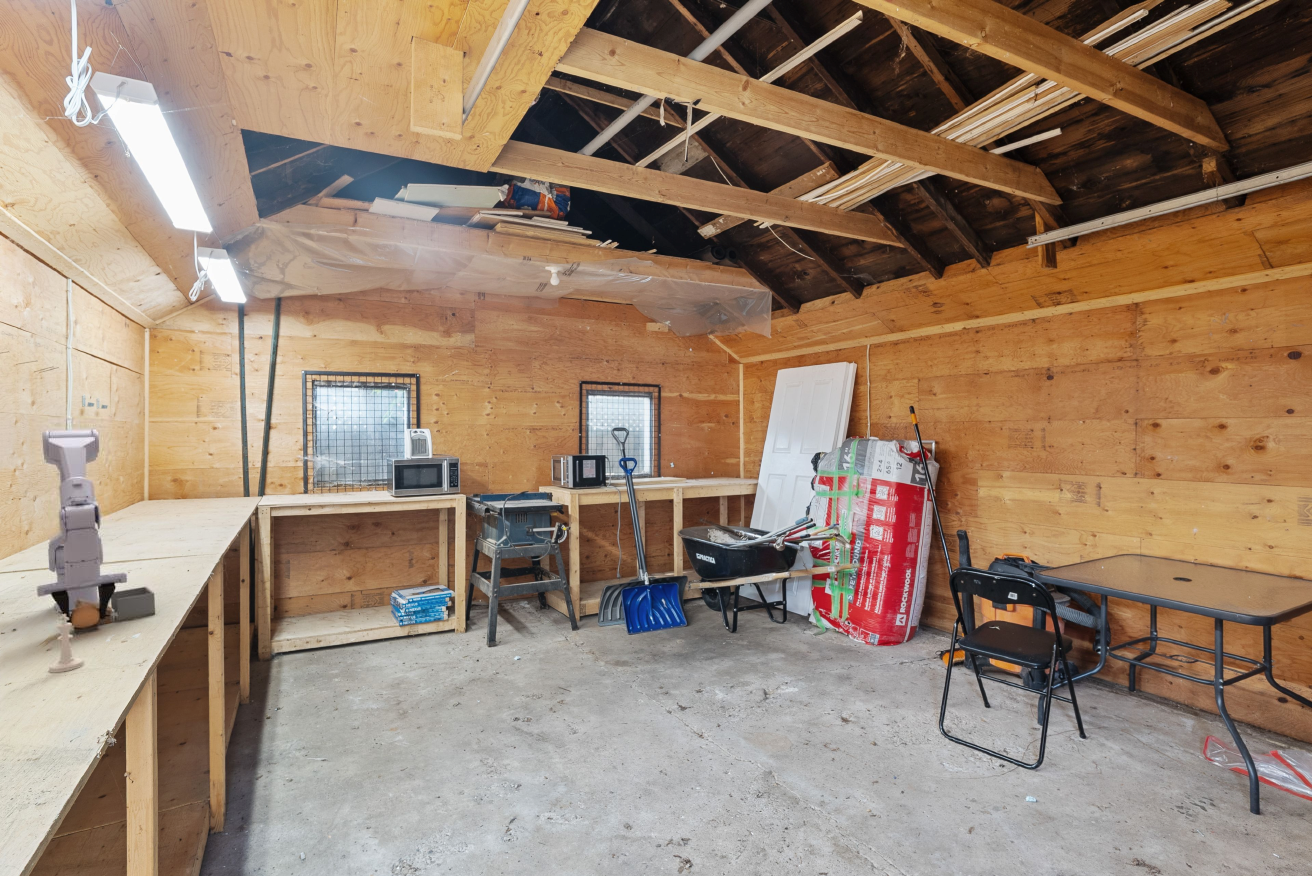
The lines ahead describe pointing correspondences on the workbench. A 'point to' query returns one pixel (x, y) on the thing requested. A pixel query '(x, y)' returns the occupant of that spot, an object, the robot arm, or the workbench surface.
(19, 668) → the workbench surface
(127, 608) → the gray open storage bin
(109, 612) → the ramp
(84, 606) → the ball
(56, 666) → the chess piece
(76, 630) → the dark gray picture frame
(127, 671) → the workbench surface
